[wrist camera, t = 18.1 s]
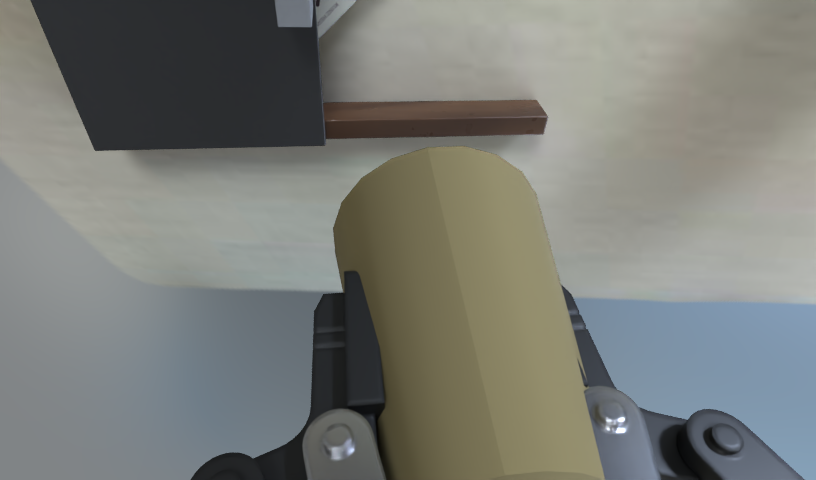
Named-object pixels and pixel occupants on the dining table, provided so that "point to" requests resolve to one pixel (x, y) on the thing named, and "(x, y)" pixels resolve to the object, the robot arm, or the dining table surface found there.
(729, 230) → the dining table surface
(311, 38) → the lid
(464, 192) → the cork
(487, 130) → the rails
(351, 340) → the robot arm
